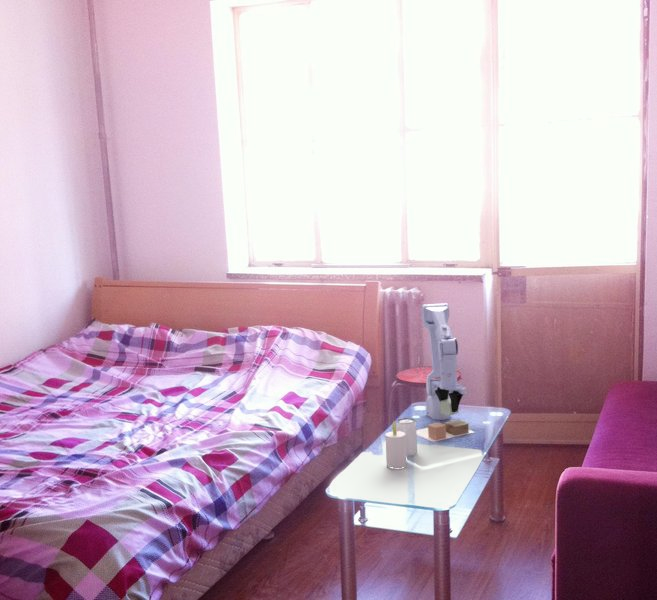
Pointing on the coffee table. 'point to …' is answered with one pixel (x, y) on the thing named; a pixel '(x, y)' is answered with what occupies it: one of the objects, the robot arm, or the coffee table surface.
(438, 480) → the coffee table surface
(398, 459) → the candle
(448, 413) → the sage block
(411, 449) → the can
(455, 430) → the walnut block
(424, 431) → the cream board
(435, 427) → the terracotta block
